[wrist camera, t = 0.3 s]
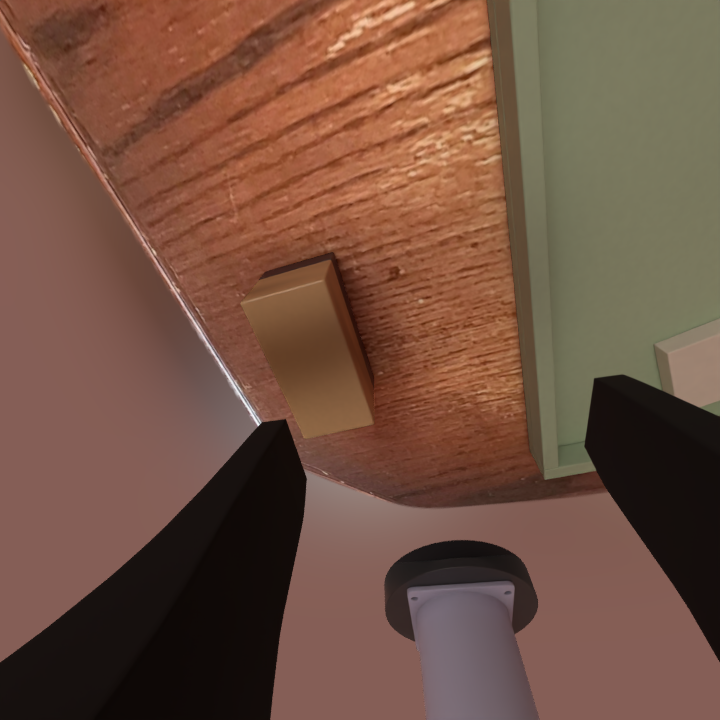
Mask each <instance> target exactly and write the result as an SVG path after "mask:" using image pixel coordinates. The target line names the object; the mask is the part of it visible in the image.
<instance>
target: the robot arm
mask: <svg viewBox="0 0 720 720" xmlns="http://www.w3.org/2000/svg"><path fill="white" fill-rule="evenodd" d="M584 447H585V449H586V451H587V453H588V455H589V457H590V459H591V461H592V463H593V465H594V467H595V469H596V471H597V473H598V474H599V476H600V478H601V480H602V482H603V484H604V486H605V487H606V489H607V490H608V492H609V493H610V495H611V496H612V498H613V499H614V501H615V502H616V503H617V505H618V506H619V508H620V509H621V511H622V512H623V514H624V515H625V516H626V518H627V519H628V521H629V522H630V524H631V525H632V527H633V528H634V529H635V531H636V532H637V534H638V535H639V536H640V538H641V539H642V541H643V542H644V543H645V545H646V547H647V548H648V549H649V551H650V552H651V554H652V555H653V557H654V558H655V559H656V561H657V562H658V564H659V565H660V567H661V568H662V569H663V571H664V572H665V574H666V575H667V576H668V578H669V579H670V581H671V582H672V583H673V585H674V586H675V588H676V590H677V591H678V593H679V594H680V596H681V597H682V599H683V600H684V602H685V604H686V605H687V607H688V608H689V609H690V611H691V613H692V615H693V616H694V618H695V620H696V622H697V624H698V625H699V627H700V629H701V630H702V632H703V634H704V636H705V637H706V639H707V641H708V643H709V644H710V646H711V648H712V650H713V651H714V653H715V655H716V656H717V658H718V660H719V662H720V416H717V415H715V414H713V413H711V412H708V411H706V410H704V409H702V408H700V407H697V406H695V405H693V404H691V403H689V402H686V401H684V400H682V399H680V398H677V397H675V396H673V395H671V394H669V393H666V392H664V391H662V390H660V389H657V388H655V387H653V386H651V385H648V384H646V383H644V382H641V381H639V380H637V379H634V378H632V377H629V376H626V375H624V374H621V375H613V376H606V377H598V378H594V382H593V389H592V396H591V403H590V410H589V417H588V424H587V431H586V438H585V445H584ZM306 481H307V478H306V475H305V472H304V469H303V466H302V464H301V461H300V458H299V455H298V452H297V449H296V447H295V444H294V441H293V438H292V435H291V432H290V430H289V427H288V424H287V421H286V419H284V420H276V421H269V422H262V423H261V424H260V425H259V426H258V427H257V428H256V429H255V431H254V432H253V433H252V434H251V435H250V436H249V437H248V438H247V439H246V441H245V442H244V443H243V444H242V445H241V446H240V447H239V449H238V450H237V451H236V452H235V453H234V454H233V455H232V456H231V458H230V459H229V460H228V461H227V462H226V463H225V464H224V465H223V467H222V468H221V469H220V470H219V471H218V472H217V473H216V474H215V475H214V477H213V478H212V479H211V480H210V481H209V482H208V483H207V484H206V485H205V486H204V488H203V489H202V490H201V491H200V492H199V493H198V494H197V495H196V496H195V497H194V498H193V499H192V500H191V501H190V502H189V503H188V504H187V505H186V506H185V507H184V508H183V509H182V510H181V511H180V512H179V513H178V514H177V516H175V517H174V518H173V519H172V520H171V522H169V523H168V525H167V526H165V528H163V529H162V531H160V532H159V533H158V534H157V535H156V536H155V537H154V538H153V539H152V540H151V541H150V542H149V543H148V544H146V545H145V546H144V547H143V548H142V549H141V550H140V551H139V552H138V553H137V554H136V555H134V556H133V557H132V558H131V559H130V560H129V561H128V562H126V563H125V564H124V565H123V566H122V567H121V568H120V569H119V570H117V571H116V572H115V573H114V574H113V575H112V576H110V577H109V578H108V579H107V580H106V581H104V582H103V583H102V584H101V585H100V586H98V587H97V588H96V589H95V590H93V591H92V592H91V593H90V594H88V595H87V596H86V597H85V598H83V599H82V600H81V601H80V602H78V603H77V604H76V605H75V606H74V607H72V608H71V609H70V610H69V611H67V612H66V613H65V614H64V615H62V616H61V617H60V618H59V619H57V620H56V621H55V622H54V623H52V624H51V625H50V626H49V627H47V628H46V629H45V630H43V631H42V632H41V633H40V634H38V635H37V636H35V637H34V638H33V639H31V640H30V641H29V642H27V643H26V644H25V645H23V646H22V647H21V648H19V649H18V650H17V651H15V652H14V653H13V654H11V655H10V656H9V657H7V658H6V659H4V660H3V661H2V662H0V720H270V716H271V706H272V696H273V687H274V679H275V670H276V662H277V654H278V645H279V637H280V631H281V626H282V619H283V614H284V609H285V605H286V600H287V595H288V590H289V585H290V581H291V576H292V571H293V566H294V561H295V557H296V552H297V547H298V543H299V538H300V533H301V528H302V523H303V517H304V507H305V495H306ZM514 591H515V587H514V584H513V582H511V581H507V580H506V581H491V582H476V583H461V584H446V585H431V586H416V587H410V588H408V589H407V596H408V602H409V608H410V614H411V619H412V625H413V631H414V637H415V642H416V649H417V650H418V651H419V652H420V661H421V671H422V680H423V692H424V702H425V711H426V720H540V719H539V716H538V712H537V709H536V706H535V702H534V699H533V695H532V692H531V689H530V685H529V682H528V678H527V675H526V672H525V668H524V665H523V662H522V658H521V655H520V651H519V648H518V645H517V641H516V638H515V634H514V631H513V628H512V617H513V604H514Z"/></svg>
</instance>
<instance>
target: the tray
mask: <svg viewBox="0 0 720 720" xmlns="http://www.w3.org/2000/svg"><path fill="white" fill-rule="evenodd" d="M487 5H488V15H489V26H490V36H491V47H492V57H493V68H494V78H495V89H496V99H497V110H498V120H499V131H500V141H501V152H502V162H503V173H504V183H505V194H506V204H507V215H508V226H509V236H510V247H511V257H512V268H513V278H514V289H515V299H516V310H517V320H518V331H519V341H520V352H521V362H522V373H523V383H524V394H525V404H526V415H527V426H528V436H529V447H530V452H531V454H532V456H533V458H534V459H535V462H536V464H537V466H538V467H539V469H540V471H541V473H542V475H543V477H544V479H552V478H558V477H563V476H569V475H575V474H580V473H586V472H592V471H596V469H595V467H594V465H593V463H592V461H591V459H590V457H589V455H588V453H587V451H586V449H585V447H584V445H585V438H586V431H587V424H588V417H589V410H590V403H591V396H592V389H593V382H594V378H598V377H606V376H613V375H621V374H624V375H626V376H629V377H632V378H634V379H637V380H639V381H641V382H644V383H646V384H648V385H651V386H653V387H655V388H657V389H660V390H662V391H663V388H662V383H661V378H660V373H659V368H658V363H657V358H656V353H655V348H654V344H655V343H658V342H660V341H663V340H665V339H668V338H671V337H673V336H676V335H678V334H681V333H683V332H686V331H688V330H691V329H693V328H696V327H699V326H701V325H704V324H706V323H709V322H711V321H714V320H716V319H719V318H720V0H487ZM700 408H702V409H704V410H706V411H708V412H711V413H713V414H715V415H717V416H720V401H717V402H714V403H711V404H708V405H705V406H702V407H700Z"/></svg>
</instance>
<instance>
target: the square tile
mask: <svg viewBox="0 0 720 720" xmlns="http://www.w3.org/2000/svg"><path fill="white" fill-rule="evenodd" d="M654 348H655V353H656V358H657V363H658V368H659V373H660V378H661V383H662V388H663V391H664V392H666V393H669V394H671V395H673V396H675V397H677V398H680V399H682V400H684V401H686V402H689V403H691V404H693V405H695V406H697V407H702V406H705V405H708V404H711V403H714V402H717V401H720V318H719V319H716V320H714V321H711V322H709V323H706V324H704V325H701V326H699V327H696V328H693V329H691V330H688V331H686V332H683V333H681V334H678V335H676V336H673V337H671V338H668V339H665V340H663V341H660V342H658V343H655V344H654Z"/></svg>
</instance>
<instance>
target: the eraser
mask: <svg viewBox="0 0 720 720" xmlns="http://www.w3.org/2000/svg"><path fill="white" fill-rule="evenodd" d="M241 306H242V308H243V310H244V312H245V315H246V317H247V319H248V321H249V323H250V325H251V327H252V329H253V331H254V334H255V336H256V338H257V340H258V342H259V344H260V346H261V348H262V350H263V353H264V355H265V357H266V359H267V361H268V363H269V365H270V367H271V369H272V372H273V374H274V376H275V378H276V380H277V382H278V384H279V386H280V388H281V391H282V393H283V395H284V397H285V399H286V401H287V403H288V405H289V407H290V410H291V412H292V414H293V416H294V418H295V420H296V422H297V424H298V426H299V429H300V431H301V433H302V435H303V437H304V439H309V438H313V437H318V436H323V435H327V434H332V433H337V432H341V431H346V430H351V429H356V428H360V427H365V426H370V425H373V424H374V422H375V420H374V376H373V373H372V369H371V366H370V363H369V360H368V357H367V354H366V351H365V348H364V345H363V342H362V339H361V335H360V332H359V329H358V326H357V323H356V320H355V317H354V314H353V311H352V308H351V304H350V301H349V298H348V295H347V292H346V289H345V286H344V283H343V280H342V277H341V273H340V270H339V267H338V264H337V261H336V258H335V255H334V253H333V252H332V253H328V254H325V255H321V256H318V257H314V258H311V259H308V260H304V261H301V262H297V263H294V264H291V265H287V266H284V267H280V268H277V269H273V270H270V271H267V272H265V273H264V274H263V275H262V277H261V278H260V279H259V281H258V282H257V283H256V284H255V286H254V287H253V288H252V289H251V291H250V292H249V293H248V294H247V295H246V297H245V298H244V299H243V300H242V302H241Z"/></svg>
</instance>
